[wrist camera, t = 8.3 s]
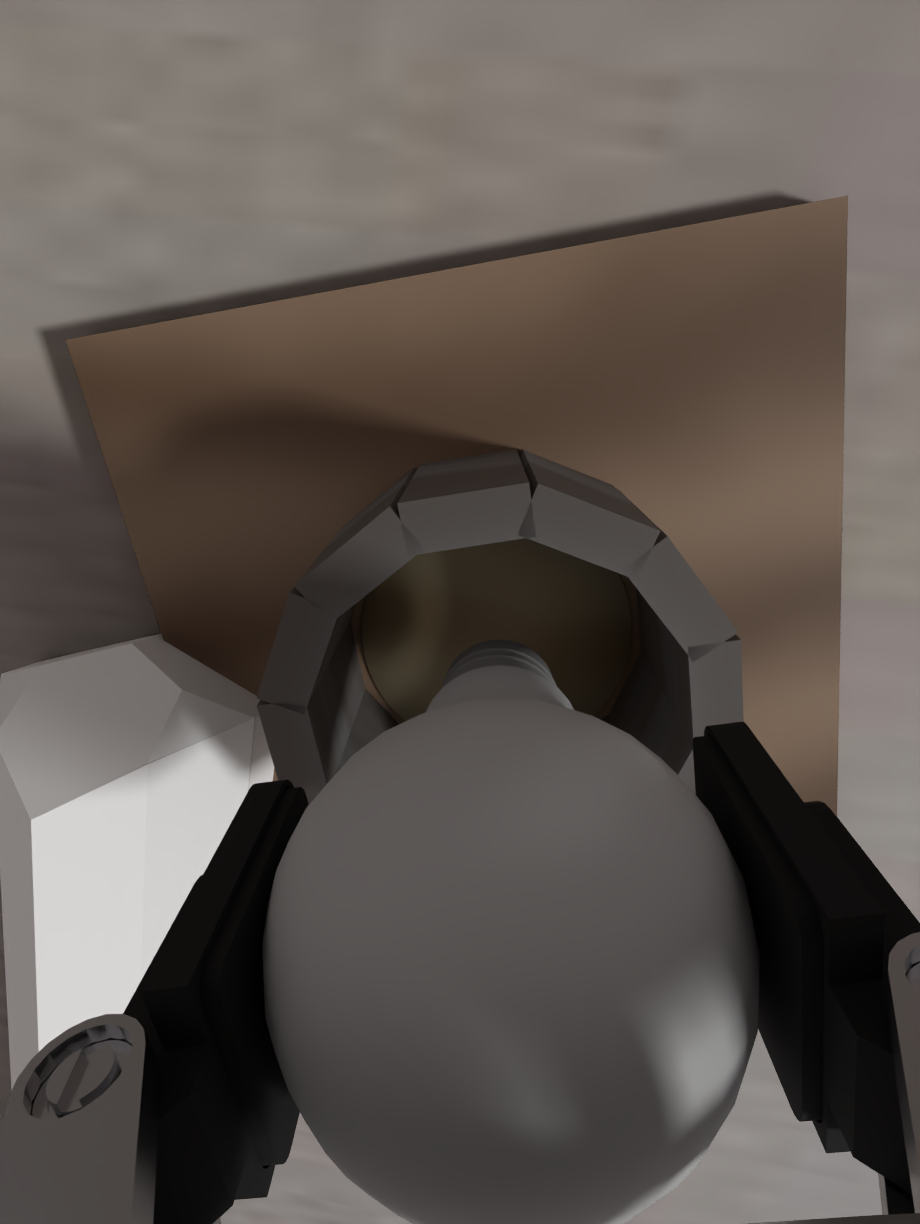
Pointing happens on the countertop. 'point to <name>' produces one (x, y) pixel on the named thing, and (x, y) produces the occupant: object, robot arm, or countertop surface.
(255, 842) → the robot arm
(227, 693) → the crystal
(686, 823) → the lightbulb
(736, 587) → the socket
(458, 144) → the countertop surface
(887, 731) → the countertop surface
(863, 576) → the countertop surface
